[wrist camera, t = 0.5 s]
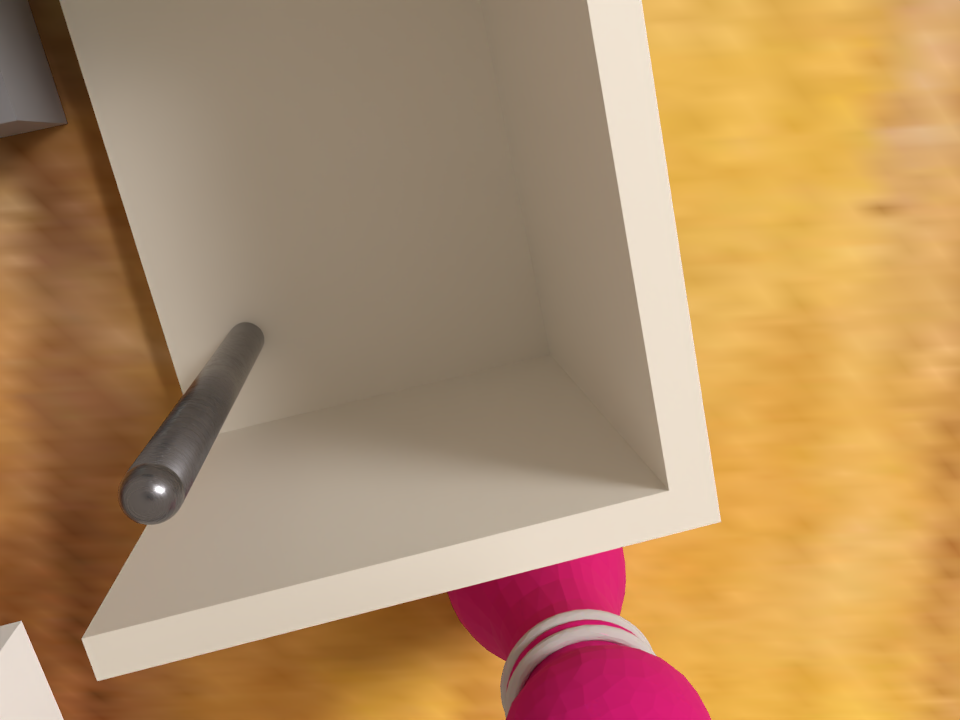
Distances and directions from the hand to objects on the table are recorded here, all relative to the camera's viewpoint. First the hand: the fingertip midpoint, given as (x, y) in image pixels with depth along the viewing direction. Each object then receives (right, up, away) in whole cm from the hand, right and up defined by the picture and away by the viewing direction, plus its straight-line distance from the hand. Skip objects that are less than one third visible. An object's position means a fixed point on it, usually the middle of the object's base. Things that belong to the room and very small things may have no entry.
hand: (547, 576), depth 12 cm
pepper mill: (+1, -4, +28) cm, 29 cm away
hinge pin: (-10, +4, +23) cm, 26 cm away
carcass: (-7, +11, +23) cm, 27 cm away
